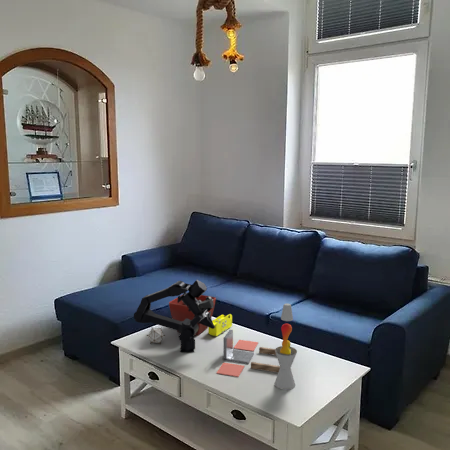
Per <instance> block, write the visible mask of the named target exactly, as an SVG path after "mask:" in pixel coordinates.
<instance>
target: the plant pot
mask: <svg viewBox="0 0 450 450" xmlns="http://www.w3.org/2000/svg"><path fill="white" fill-rule="evenodd" d="M183 294H184V293H183ZM183 294H181V295H180V296H182V295H183ZM207 297H208V295H204V294H202V295H201V296H200V297H199V298H197V297H196V300H198V301H199V300H201V301H202V302H203V301H205V300H206V298H207ZM210 297H211V298H212V299H213V300H214V301H213V303H214V305H213V306H214V307H213V308H212V309H211V310H210V311H211V314H210V317H211V318H212V317H213V315H214V310H215V305H216V299H217V298H216V296H215V297H214V296H210ZM177 301H178V296H176V298H174V299H173V300H170V301H168V306H169V311H170V316H171V318H172V319H175V320H178V321H184V320H185V319H186V318H187V319H190V320H192V319H193V318H194V316H195V315H194V314H193V313H192V312H191V311H190V312H189V311H188V310H189V308H188V307H189V306H188V307H187V306H186V305H185V304H184V303H183V301H182V300H181V301H180V302H179V303H178V302H177ZM210 311H208V312H210ZM197 324H198V323H197ZM198 326H199V329H198V331H197V332H196V334H195V335H194V336H196V337H197V336H199V335H200V334H202V333H203V332H204V331H206V330H208V327H207V326H205V325H202V324H198ZM176 332H178V333H180V332H179V331H177V330H176Z"/></svg>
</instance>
